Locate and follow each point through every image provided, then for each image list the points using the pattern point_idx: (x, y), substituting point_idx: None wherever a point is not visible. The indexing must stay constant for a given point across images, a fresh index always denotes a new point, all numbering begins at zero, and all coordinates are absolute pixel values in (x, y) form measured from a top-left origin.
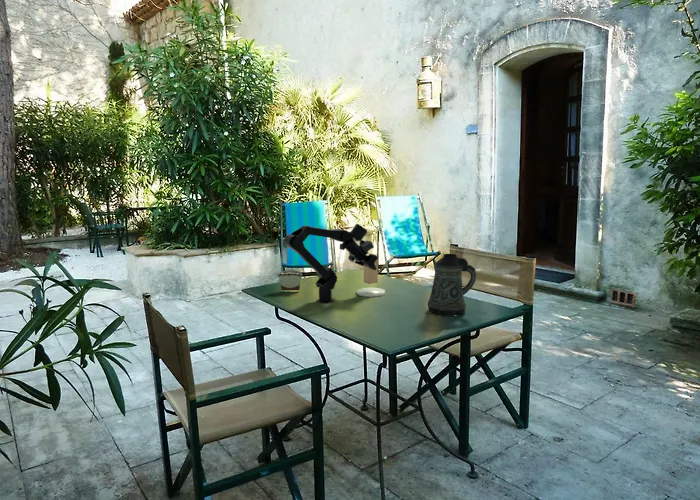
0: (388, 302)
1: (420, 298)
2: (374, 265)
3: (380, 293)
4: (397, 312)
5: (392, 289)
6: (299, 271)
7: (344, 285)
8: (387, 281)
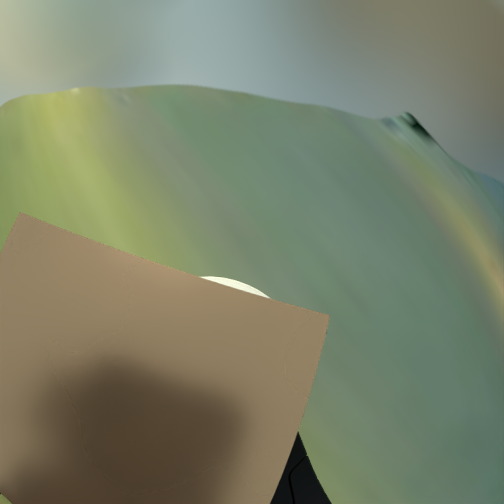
0: (412, 440)
1: (459, 276)
2: (295, 447)
3: None
4: (485, 479)
5: (252, 212)
6: None
7: None
8: (137, 117)
